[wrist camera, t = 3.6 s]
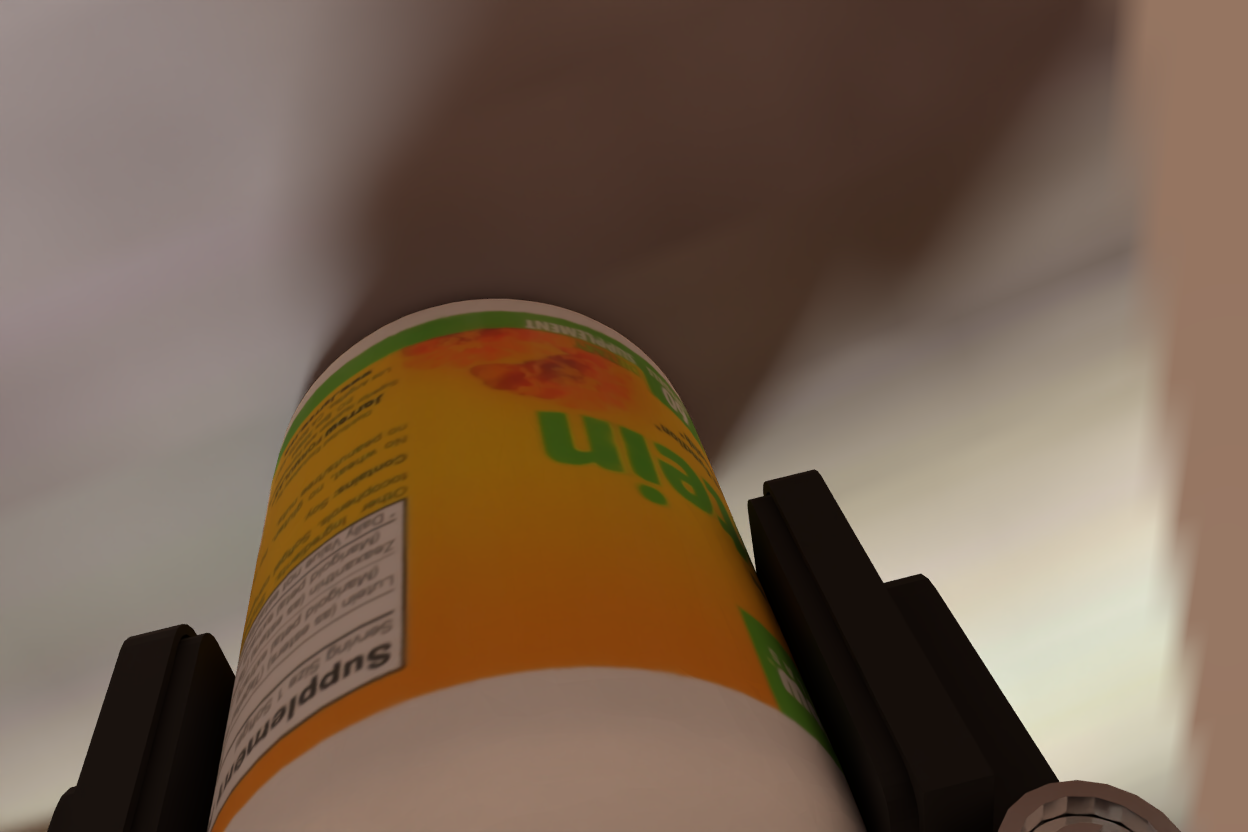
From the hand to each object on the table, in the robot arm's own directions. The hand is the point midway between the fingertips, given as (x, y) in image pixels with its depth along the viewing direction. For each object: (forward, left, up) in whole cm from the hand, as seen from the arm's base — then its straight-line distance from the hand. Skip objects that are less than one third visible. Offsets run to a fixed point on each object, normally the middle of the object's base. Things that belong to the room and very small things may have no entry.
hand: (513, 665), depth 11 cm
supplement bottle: (0, 0, -4) cm, 4 cm away
